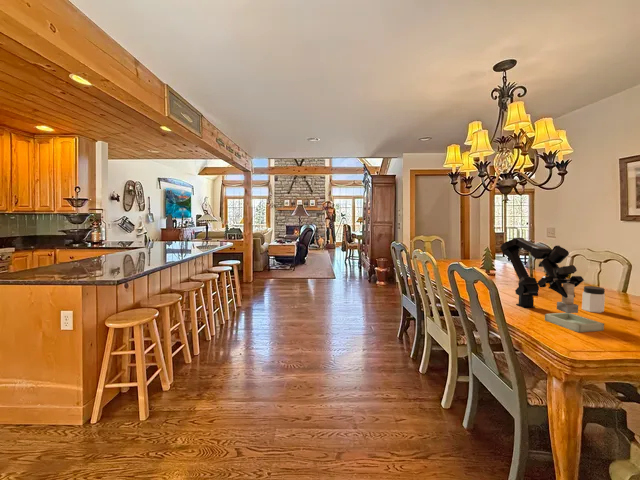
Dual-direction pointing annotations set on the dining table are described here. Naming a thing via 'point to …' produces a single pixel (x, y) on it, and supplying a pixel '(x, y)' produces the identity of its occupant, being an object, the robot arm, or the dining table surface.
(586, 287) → the jar
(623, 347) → the dining table surface
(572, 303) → the square pillar on base
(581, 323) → the tray
